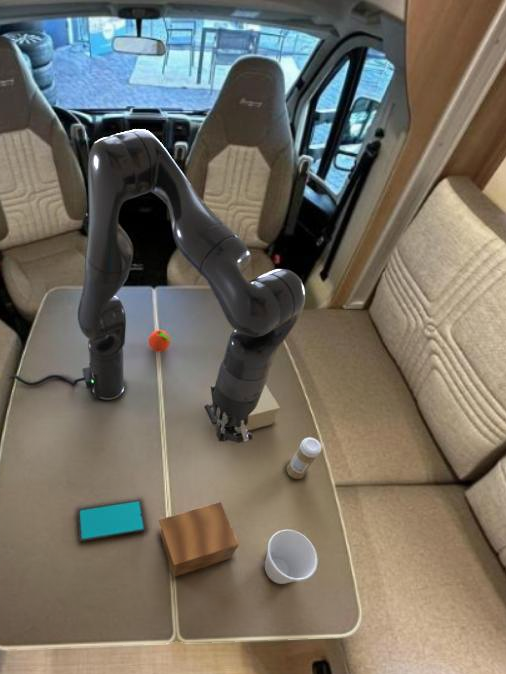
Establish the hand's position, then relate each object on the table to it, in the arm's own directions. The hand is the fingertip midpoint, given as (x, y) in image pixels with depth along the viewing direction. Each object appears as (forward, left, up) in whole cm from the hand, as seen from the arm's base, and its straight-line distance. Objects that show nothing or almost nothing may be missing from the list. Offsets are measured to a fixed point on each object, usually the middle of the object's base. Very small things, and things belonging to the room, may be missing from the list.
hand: (222, 437), depth 80 cm
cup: (+10, -20, -29) cm, 37 cm away
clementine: (+6, +51, -29) cm, 59 cm away
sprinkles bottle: (+26, 0, -29) cm, 39 cm away
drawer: (+17, +20, -28) cm, 39 cm away
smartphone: (-23, +1, -29) cm, 37 cm away
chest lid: (-6, -10, -20) cm, 23 cm away
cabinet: (+21, +20, -29) cm, 41 cm away
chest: (-6, -10, -29) cm, 31 cm away
